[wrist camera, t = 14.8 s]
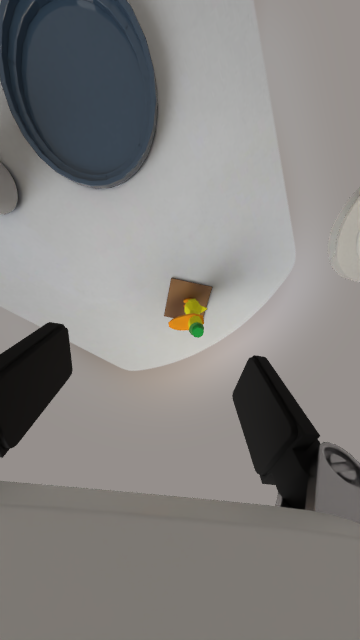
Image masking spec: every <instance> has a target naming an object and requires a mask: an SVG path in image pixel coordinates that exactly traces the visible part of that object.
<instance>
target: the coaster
mask: <svg viewBox="0 0 360 640" xmlns="http://www.w3.org/2000/svg"><path fill="white" fill-rule="evenodd" d="M211 290H212V287H211V286H206V285H201V284H197V283H192V282H188V281H183V280H178V279H174V278H171V283H170V288H169V293H168V298H167V303H166V309H165V314H164V316H166V317H171V318H176V317H178V316H182V315H186V313H185V311H184V305H185V304H186V303H184V302H183V300H184V299H186V298H192V299H196V301H198V302H199V304H200V305H201V306H203V307H205V308H206V306H207V303H208V300H209V296H210V293H211ZM204 313H205V311H203V312H201V313H200V315H203V316H204Z"/></svg>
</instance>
